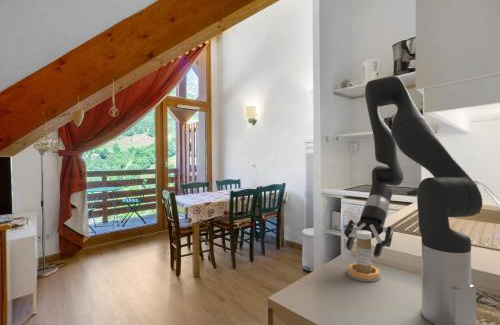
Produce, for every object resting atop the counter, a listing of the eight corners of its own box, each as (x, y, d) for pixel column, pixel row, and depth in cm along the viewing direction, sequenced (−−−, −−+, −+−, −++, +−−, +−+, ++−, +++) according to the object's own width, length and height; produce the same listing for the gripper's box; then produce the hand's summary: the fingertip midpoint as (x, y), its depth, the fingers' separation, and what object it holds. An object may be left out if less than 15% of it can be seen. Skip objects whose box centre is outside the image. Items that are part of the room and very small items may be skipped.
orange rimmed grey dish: (388, 279, 81) (388, 273, 81) (360, 284, 79) (360, 277, 79) (366, 266, 91) (366, 261, 91) (340, 270, 89) (340, 264, 89)
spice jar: (361, 268, 88) (360, 228, 88) (374, 273, 85) (374, 231, 84) (354, 272, 85) (353, 231, 85) (367, 277, 82) (367, 234, 82)
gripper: (351, 202, 95) (336, 241, 87) (394, 207, 85) (382, 252, 77) (358, 214, 99) (344, 253, 91) (400, 220, 88) (388, 264, 81)
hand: (361, 252), depth 84 cm, fingers open, 8 cm apart
